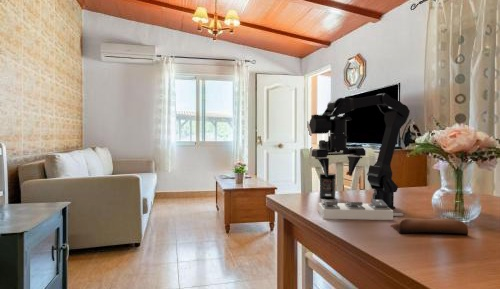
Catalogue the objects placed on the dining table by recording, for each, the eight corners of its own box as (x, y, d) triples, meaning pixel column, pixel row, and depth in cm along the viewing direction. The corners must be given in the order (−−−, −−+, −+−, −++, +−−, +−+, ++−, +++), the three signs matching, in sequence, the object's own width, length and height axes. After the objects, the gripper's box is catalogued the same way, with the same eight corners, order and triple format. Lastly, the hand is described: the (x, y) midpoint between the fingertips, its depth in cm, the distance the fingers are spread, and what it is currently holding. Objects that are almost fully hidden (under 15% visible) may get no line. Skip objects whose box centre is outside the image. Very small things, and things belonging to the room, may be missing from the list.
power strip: (396, 212, 108) (396, 202, 108) (409, 220, 98) (409, 209, 98) (318, 211, 109) (318, 201, 109) (323, 218, 99) (323, 207, 99)
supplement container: (333, 196, 137) (333, 173, 137) (337, 199, 130) (337, 174, 130) (318, 196, 137) (318, 172, 137) (321, 199, 131) (321, 174, 130)
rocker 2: (381, 202, 105) (381, 199, 105) (387, 208, 100) (387, 205, 99) (370, 201, 105) (371, 199, 105) (376, 208, 100) (376, 205, 100)
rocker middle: (357, 204, 105) (357, 201, 105) (362, 205, 100) (362, 202, 100) (347, 204, 105) (347, 201, 105) (351, 204, 100) (351, 201, 100)
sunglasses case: (450, 226, 91) (457, 210, 88) (462, 245, 85) (471, 228, 82) (387, 225, 92) (392, 208, 89) (396, 244, 86) (401, 227, 83)
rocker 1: (334, 204, 106) (334, 201, 106) (337, 204, 100) (337, 201, 101) (323, 203, 106) (323, 201, 106) (326, 204, 101) (326, 201, 101)
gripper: (350, 133, 121) (350, 172, 122) (305, 134, 118) (306, 174, 118) (366, 132, 110) (366, 176, 111) (317, 133, 107) (318, 178, 107)
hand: (338, 176), depth 112 cm, fingers open, 9 cm apart
